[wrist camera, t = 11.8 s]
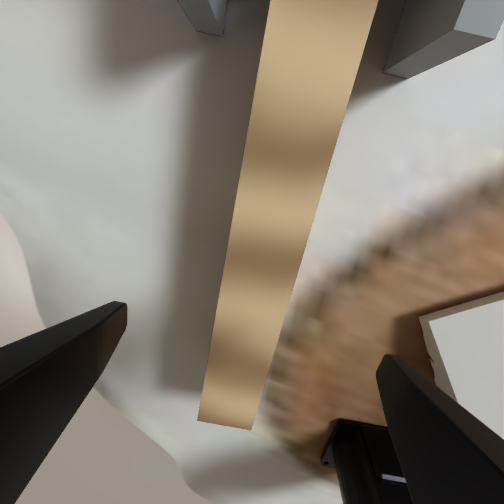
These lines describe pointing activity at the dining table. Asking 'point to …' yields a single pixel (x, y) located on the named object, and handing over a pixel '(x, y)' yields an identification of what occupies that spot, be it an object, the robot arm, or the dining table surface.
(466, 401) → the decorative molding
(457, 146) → the dining table surface
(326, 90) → the oak slat
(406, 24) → the end cap
